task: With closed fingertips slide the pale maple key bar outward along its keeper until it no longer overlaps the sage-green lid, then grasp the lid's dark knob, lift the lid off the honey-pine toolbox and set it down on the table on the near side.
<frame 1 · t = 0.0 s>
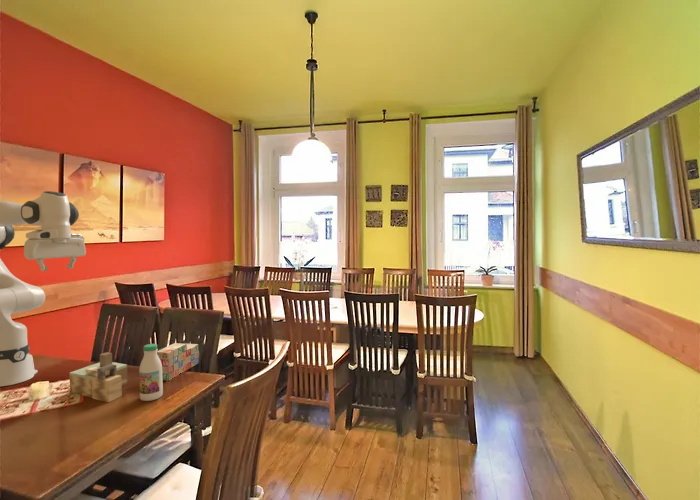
hand: (57, 269, 142), 48 cm above the table, fingers open, 8 cm apart
milk bottle: (151, 397, 139), on the table
stack of blocks: (179, 371, 165), on the table
lid: (99, 370, 147), point 7 cm above the table, touching toolbox
wooden key: (97, 371, 140), point 9 cm above the table, slide at 0.0 cm
toolbox: (99, 388, 147), on the table
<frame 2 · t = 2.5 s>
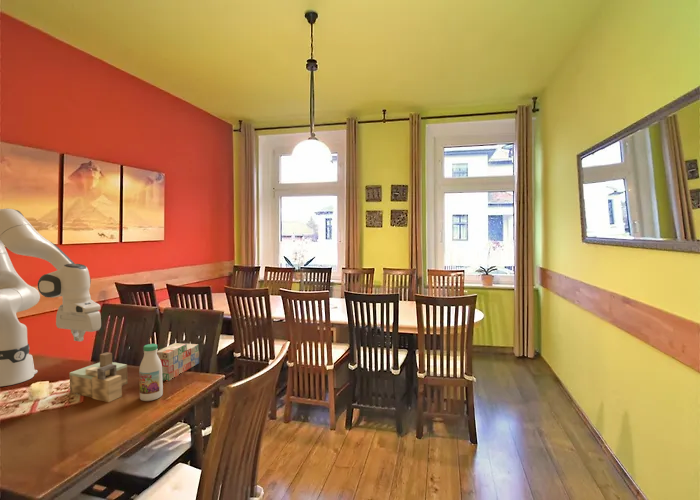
hand: (78, 340, 143), 20 cm above the table, fingers closed
nothing on the table moved.
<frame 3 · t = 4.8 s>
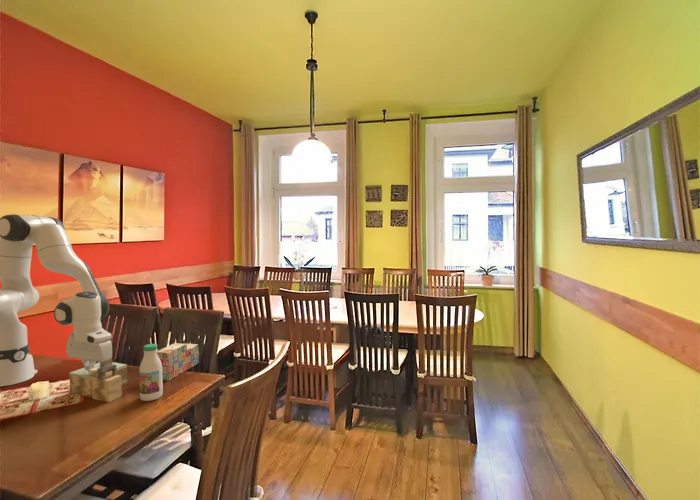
hand: (89, 369, 141), 9 cm above the table, fingers closed
wooden key: (100, 372, 139), point 9 cm above the table, slide at 1.4 cm, touching gripper
everything else where it was.
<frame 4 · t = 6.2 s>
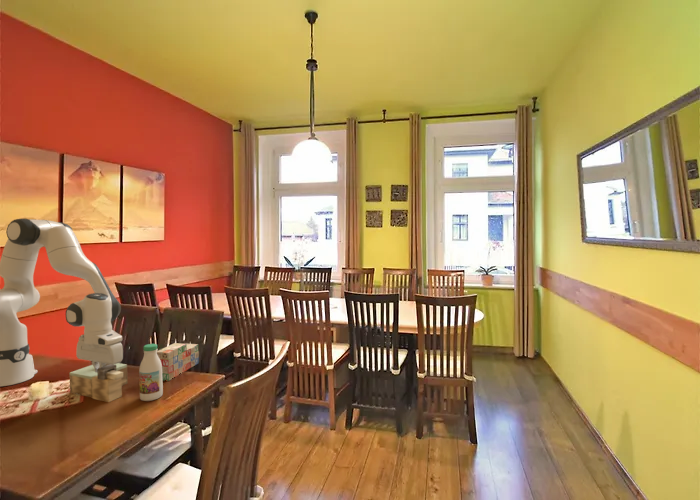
hand: (99, 372, 140), 9 cm above the table, fingers closed
wooden key: (110, 374, 138), point 9 cm above the table, slide at 7.0 cm, touching gripper
everything else where it was.
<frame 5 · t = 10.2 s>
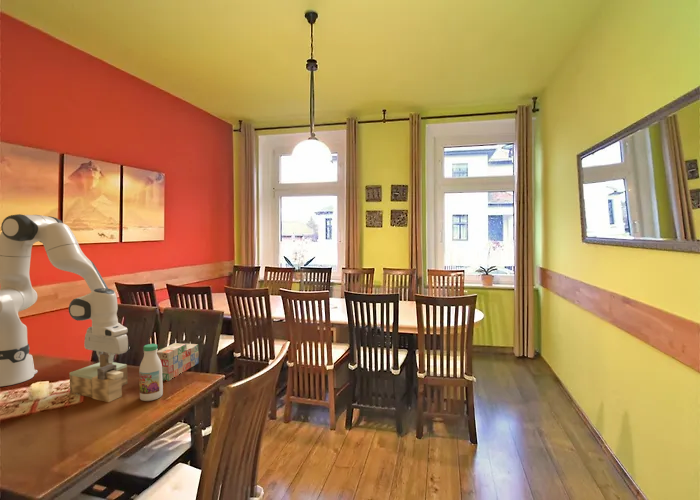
hand: (106, 362, 149), 10 cm above the table, fingers closed on lid, 3 cm apart
lid: (99, 370, 147), point 7 cm above the table, touching gripper, toolbox
wooden key: (110, 374, 138), point 9 cm above the table, slide at 7.0 cm
everything else where it was.
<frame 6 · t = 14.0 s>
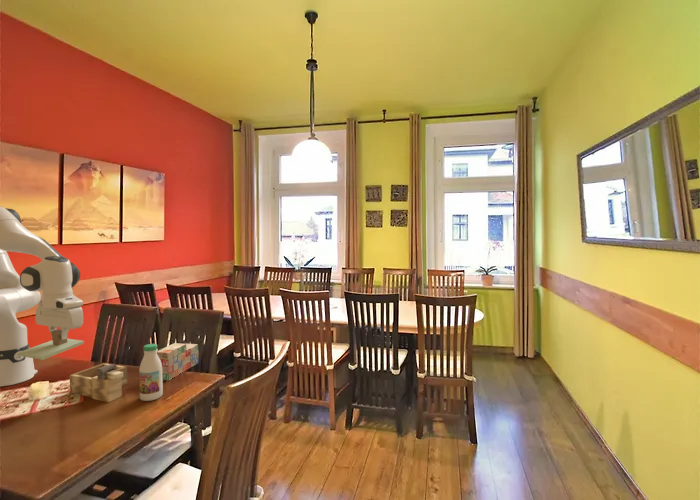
hand: (59, 338, 134), 24 cm above the table, fingers closed on lid, 3 cm apart
lid: (52, 349, 132), point 20 cm above the table, tilted 7°, touching gripper
everything else where it was.
when the fingers open (4 cm above the table, at t = 17.6 s): lid drops 1 cm, on the table.
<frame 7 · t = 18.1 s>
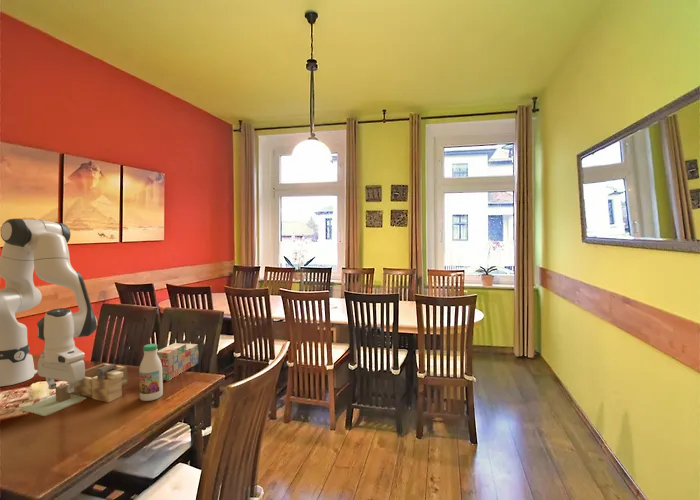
hand: (61, 390, 135), 4 cm above the table, fingers open, 8 cm apart
lid: (54, 405, 133), on the table
everything else where it was.
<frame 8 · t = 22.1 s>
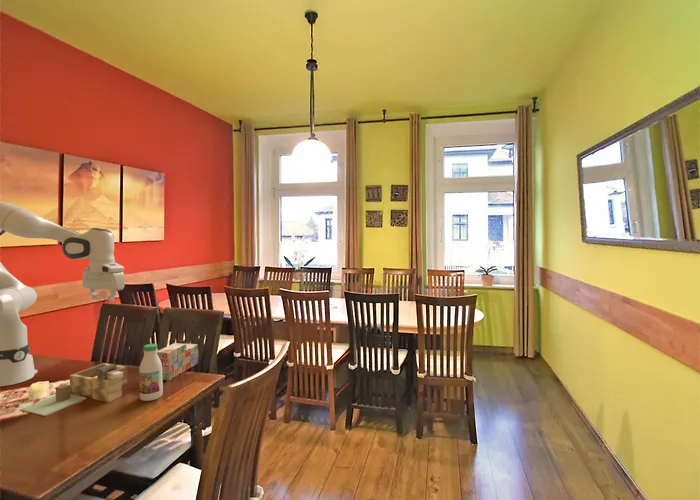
hand: (103, 299, 154), 34 cm above the table, fingers open, 8 cm apart
nothing on the table moved.
at the end: wooden key slide at 7.0 cm; lid inside the target area (0.6 cm from its centre), on the table; the gripper is holding nothing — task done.
